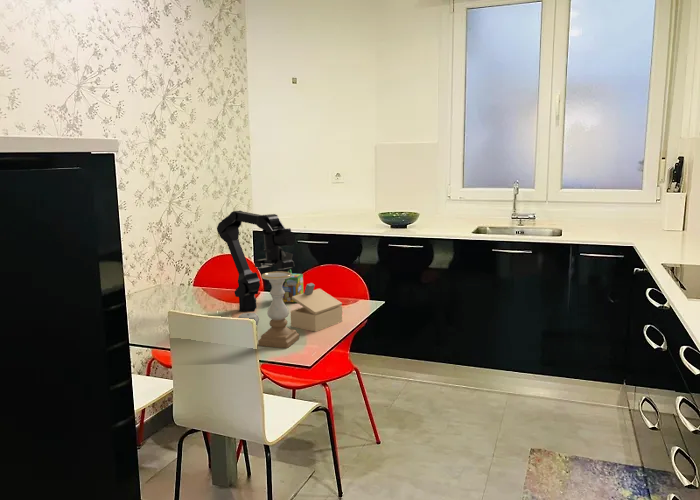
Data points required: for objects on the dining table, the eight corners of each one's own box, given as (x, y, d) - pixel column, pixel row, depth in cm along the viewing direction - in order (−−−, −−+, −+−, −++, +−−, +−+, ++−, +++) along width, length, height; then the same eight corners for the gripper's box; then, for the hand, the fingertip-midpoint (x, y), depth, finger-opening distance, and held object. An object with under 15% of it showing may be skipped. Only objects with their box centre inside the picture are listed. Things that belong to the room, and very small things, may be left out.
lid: (291, 298, 212) (294, 287, 210) (318, 290, 225) (322, 279, 223) (314, 314, 206) (318, 302, 204) (341, 305, 219) (345, 294, 217)
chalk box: (298, 303, 249) (297, 270, 247) (278, 302, 251) (277, 269, 248) (304, 298, 258) (303, 266, 256) (285, 297, 260) (284, 265, 257)
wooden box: (291, 326, 214) (290, 310, 213) (318, 316, 227) (317, 302, 226) (315, 331, 207) (315, 315, 206) (342, 321, 220) (341, 306, 219)
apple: (239, 327, 214) (238, 310, 213) (260, 327, 214) (259, 310, 213) (236, 334, 206) (236, 316, 205) (258, 333, 206) (258, 315, 205)
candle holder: (271, 336, 203) (268, 270, 199) (299, 338, 200) (297, 271, 196) (257, 345, 192) (254, 276, 189) (287, 348, 189) (285, 278, 186)
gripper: (302, 243, 225) (306, 282, 226) (273, 243, 238) (277, 280, 240) (280, 247, 217) (284, 287, 219) (252, 247, 230) (255, 285, 232)
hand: (276, 284), depth 227 cm, fingers open, 9 cm apart
